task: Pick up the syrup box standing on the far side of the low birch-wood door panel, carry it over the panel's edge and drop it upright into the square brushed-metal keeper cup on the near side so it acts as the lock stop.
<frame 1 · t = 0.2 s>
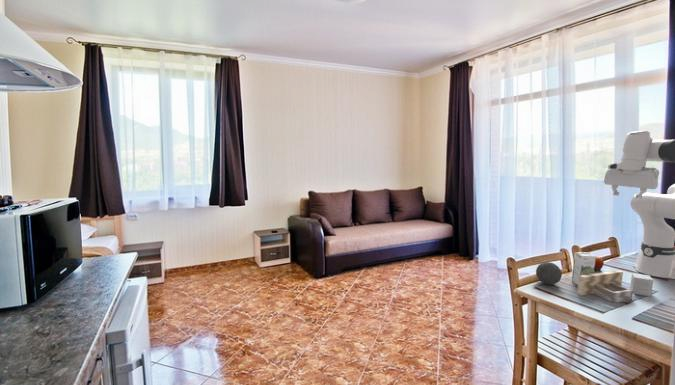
hand: (626, 196, 157), 39 cm above the table, tool pointing down, fingers open, 8 cm apart
product box: (640, 293, 147), on the table
syrup box: (581, 284, 156), on the table
fruit: (593, 269, 174), on the table
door: (599, 291, 148), on the table
decorative ball: (547, 284, 157), on the table
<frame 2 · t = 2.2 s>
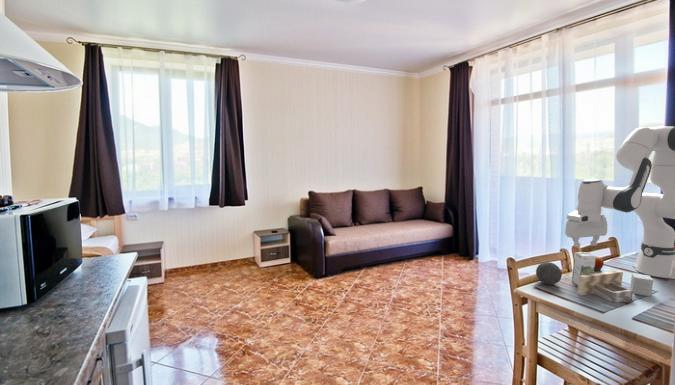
hand: (585, 246, 153), 18 cm above the table, tool pointing down, fingers open, 8 cm apart
nothing on the table moved.
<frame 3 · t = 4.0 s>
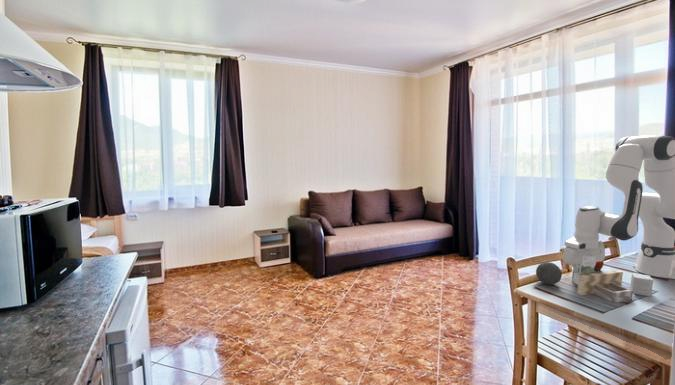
hand: (583, 271, 155), 6 cm above the table, tool pointing down, fingers closed on syrup box, 7 cm apart
syrup box: (581, 284, 156), on the table, touching gripper
everything else where it was.
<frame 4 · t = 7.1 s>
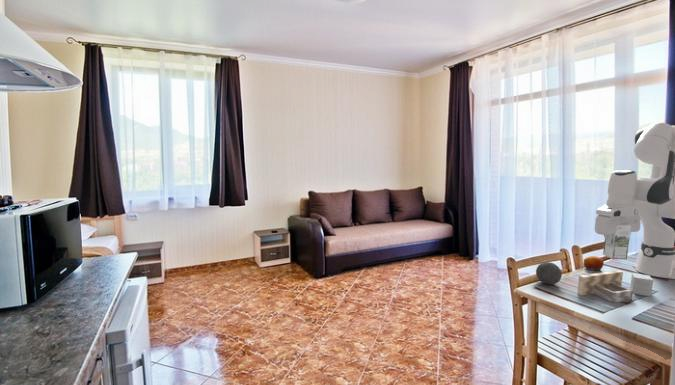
hand: (616, 243, 140), 23 cm above the table, tool pointing down, fingers closed on syrup box, 7 cm apart
syrup box: (614, 257, 141), point 17 cm above the table, touching gripper
everything else where it was.
when the fingers open (7 cm above the table, at t = 10.3 s): syrup box drops 1 cm, resting in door.
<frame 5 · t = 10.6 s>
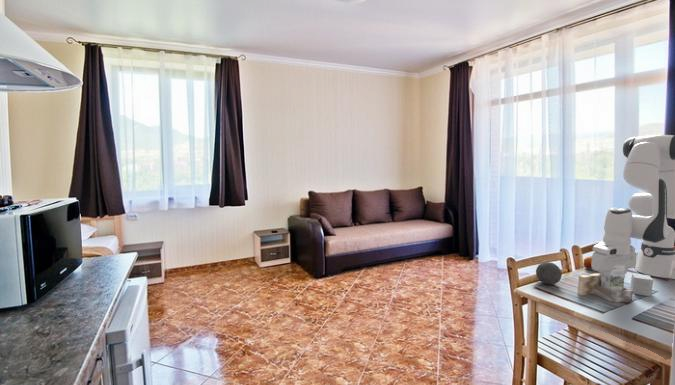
hand: (612, 279, 142), 7 cm above the table, tool pointing down, fingers open, 8 cm apart
syrup box: (610, 296, 143), resting in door
everything else where it was.
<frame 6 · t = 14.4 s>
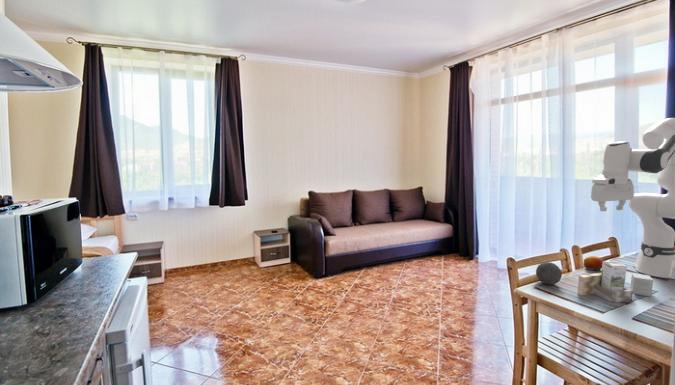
hand: (611, 210, 150), 34 cm above the table, tool pointing down, fingers open, 8 cm apart
nothing on the table moved.
at the end: syrup box 0.1 cm from the target spot on the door, point 0.0 cm above the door's base; syrup box tilted 0°; the gripper is holding nothing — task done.
